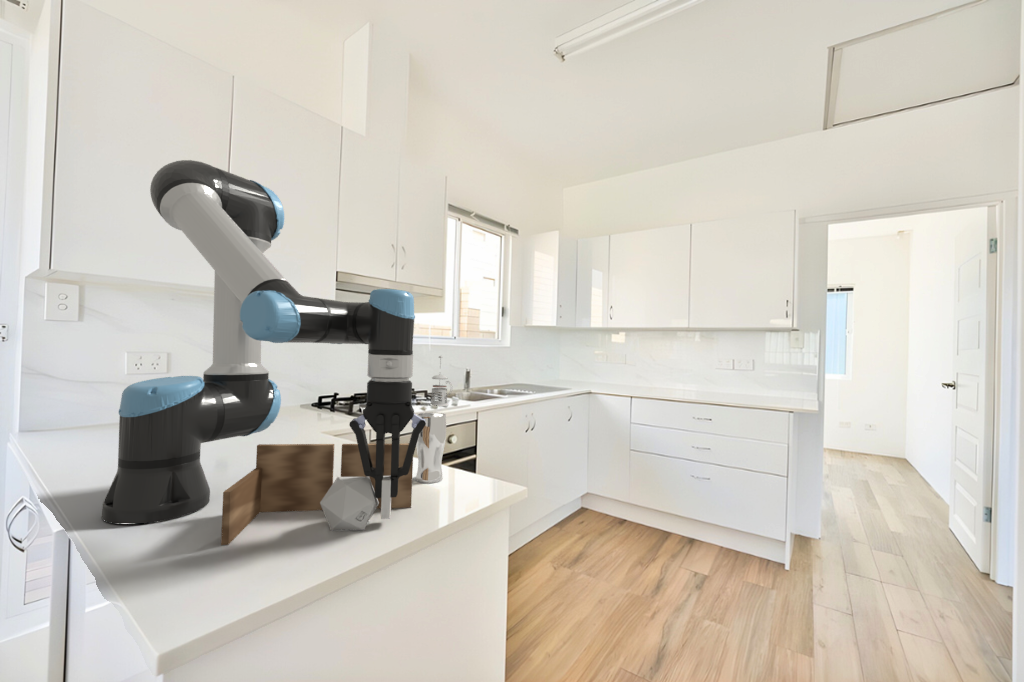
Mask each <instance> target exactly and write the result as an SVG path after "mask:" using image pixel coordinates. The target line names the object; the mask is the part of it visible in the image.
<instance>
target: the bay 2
mask: <svg viewBox="0 0 1024 682" xmlns="http://www.w3.org/2000/svg"><path fill="white" fill-rule="evenodd" d="M408 445H409V442H407V443H400V446H399V468H400V467H402V466H403V463H404V460H405V456H406V453H407V449H408ZM368 447H369V452H370V456H371V461H372V465H373V467H374V468H375V466H376V443H368ZM391 448H392V443H385V449H384V474H383V476H391ZM340 458H341V459H340V460H341V462H340V477H369V478H370V480H371V483H372V486H373V488H374V491H375V479H374V478H373V477H370V476H365V474H364V470H363V466H362V461H361V457H360V453H359V448H358V444H357V443H342V444H341V457H340ZM413 466H414V458H413V459H412V462H411V466H410V469H409V473H408V474H407V475H403V476H401V477H399V479H398V494H397V496H396V497H391V509H406V508H410V509H411V508H412V495H413V494H412V492H413V473H414V472H413V470H414V469H413V468H414V467H413ZM377 499H378V502H379V504H378V506H377V508H376V509H377V510H379V509H381V498H377ZM376 509H375V510H376Z"/></svg>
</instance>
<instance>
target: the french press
mask: <svg viewBox="0 0 1024 682" xmlns="http://www.w3.org/2000/svg"><path fill="white" fill-rule="evenodd" d="M438 358H439V359H440V360H439V364H440V365H439V368H441V364H442V359H443V356H442V355H439V356H438ZM431 379H432V380H446V381H445V384H444V385H443V384H441V383H440V382H441V381H439V384H432V387H433V388H431V399H430V400H431V402H430V403H429V404H432V405H437V406H436V407H447V406H449V404H448V396H449V395H451V394H452V392H453V390H452V389H450V391H449V392H448V388H447V384H449V387H452V386H453V384H452V383H451V382H450V381H449V380H448V377H447V376H446V375H444V374H441V373H438V374H436V375H433V376H432V377H431Z"/></svg>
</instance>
